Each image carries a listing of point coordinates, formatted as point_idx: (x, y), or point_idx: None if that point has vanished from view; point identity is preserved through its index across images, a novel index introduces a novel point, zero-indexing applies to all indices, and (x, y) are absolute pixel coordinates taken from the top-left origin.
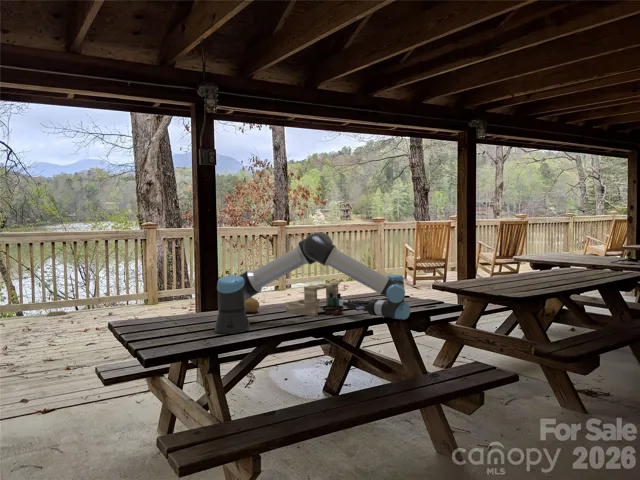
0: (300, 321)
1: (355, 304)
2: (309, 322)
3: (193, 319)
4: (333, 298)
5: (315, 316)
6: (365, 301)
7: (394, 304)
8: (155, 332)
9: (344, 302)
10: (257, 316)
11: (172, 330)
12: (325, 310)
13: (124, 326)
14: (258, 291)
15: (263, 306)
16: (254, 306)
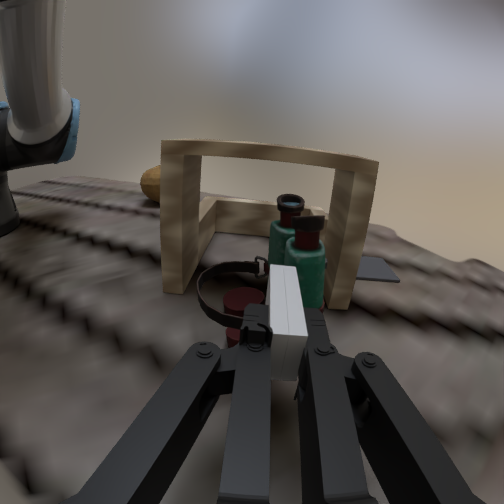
0: (59, 285)
1: (108, 484)
2: (40, 311)
3: (83, 190)
4: (285, 236)
5: (167, 292)
6: (433, 463)
7: None
8: None
9: (253, 312)
10: (122, 214)
11: None
12: (199, 289)
13: (44, 182)
14: (21, 142)
15: None
16: (145, 187)
